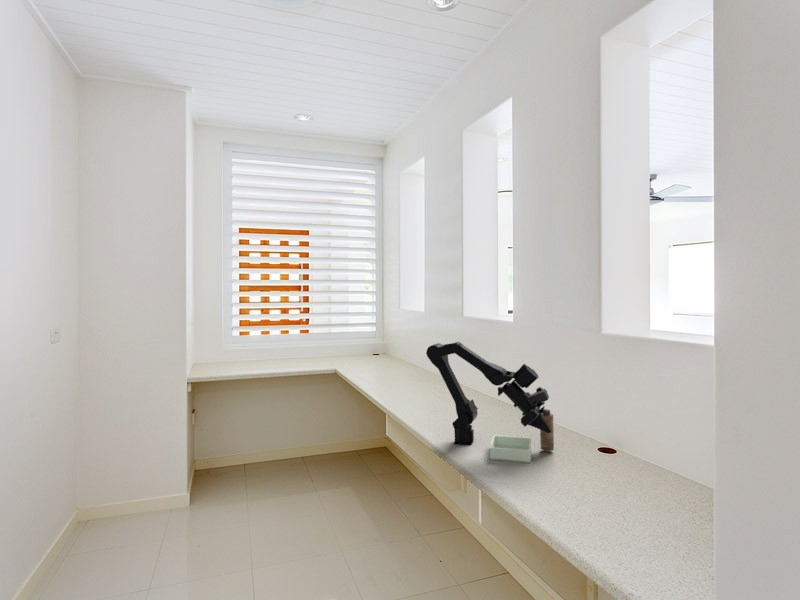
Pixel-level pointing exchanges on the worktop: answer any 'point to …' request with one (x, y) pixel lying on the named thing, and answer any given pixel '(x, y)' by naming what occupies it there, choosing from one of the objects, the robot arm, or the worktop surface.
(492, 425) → the worktop surface
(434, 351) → the robot arm
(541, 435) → the mill
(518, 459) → the bin
